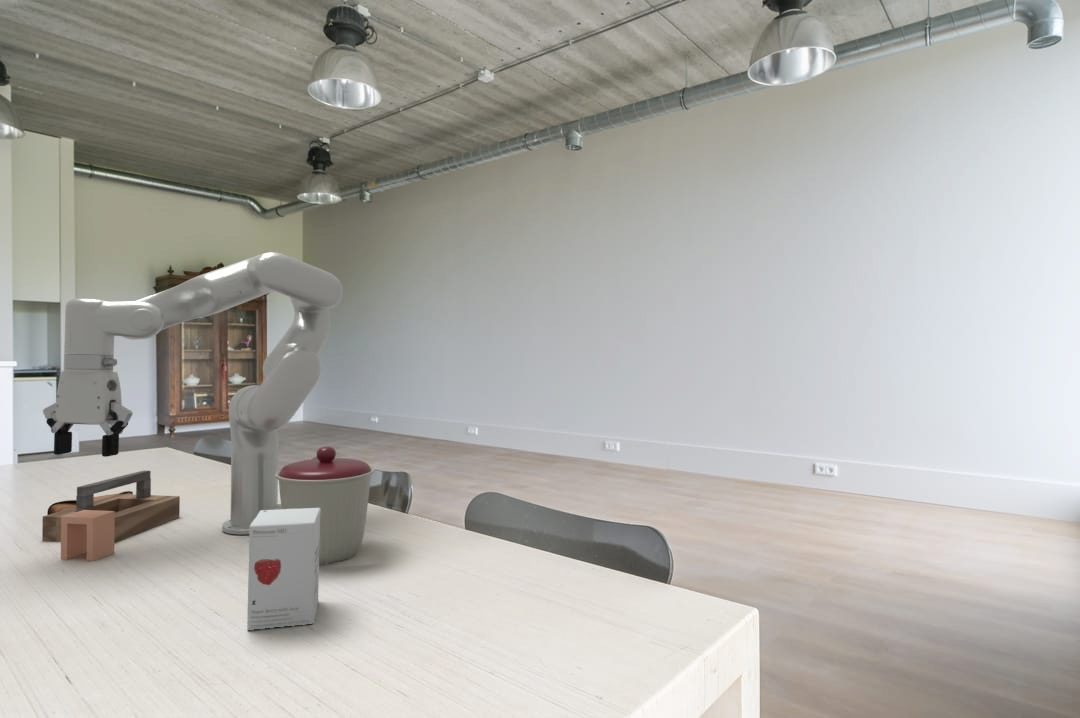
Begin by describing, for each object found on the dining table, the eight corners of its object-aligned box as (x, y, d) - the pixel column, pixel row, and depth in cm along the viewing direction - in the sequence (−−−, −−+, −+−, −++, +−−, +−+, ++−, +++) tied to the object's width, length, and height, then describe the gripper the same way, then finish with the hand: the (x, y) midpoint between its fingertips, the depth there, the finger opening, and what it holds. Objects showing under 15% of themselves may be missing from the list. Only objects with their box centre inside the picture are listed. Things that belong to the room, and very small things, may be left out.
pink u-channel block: (114, 552, 115) (114, 511, 115) (92, 561, 111) (93, 518, 110) (83, 551, 116) (84, 509, 116) (60, 559, 111) (61, 516, 111)
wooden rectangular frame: (179, 517, 140) (179, 470, 140) (110, 544, 120) (111, 489, 120) (120, 515, 142) (120, 468, 142) (42, 540, 122) (42, 487, 122)
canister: (343, 576, 104) (344, 456, 104) (252, 568, 108) (253, 451, 108) (389, 544, 122) (390, 442, 122) (309, 538, 126) (311, 438, 126)
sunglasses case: (62, 523, 134) (55, 496, 136) (50, 535, 137) (44, 508, 139) (149, 507, 149) (142, 482, 151) (137, 518, 152) (130, 493, 154)
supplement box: (245, 632, 83) (246, 525, 83) (257, 606, 92) (258, 509, 92) (314, 625, 86) (315, 521, 86) (320, 600, 94) (321, 506, 94)
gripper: (146, 365, 116) (143, 453, 116) (64, 363, 118) (62, 450, 117) (115, 365, 109) (112, 459, 108) (28, 363, 110) (25, 455, 110)
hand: (86, 454), depth 113 cm, fingers open, 9 cm apart
